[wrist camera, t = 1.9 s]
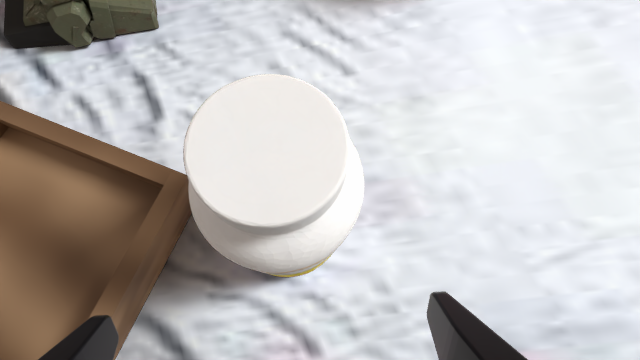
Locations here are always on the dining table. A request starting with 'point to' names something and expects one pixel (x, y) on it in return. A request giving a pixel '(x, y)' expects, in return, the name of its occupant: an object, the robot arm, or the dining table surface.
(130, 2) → the mechanical leg
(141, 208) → the walnut tray
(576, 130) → the dining table surface
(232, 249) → the supplement bottle
